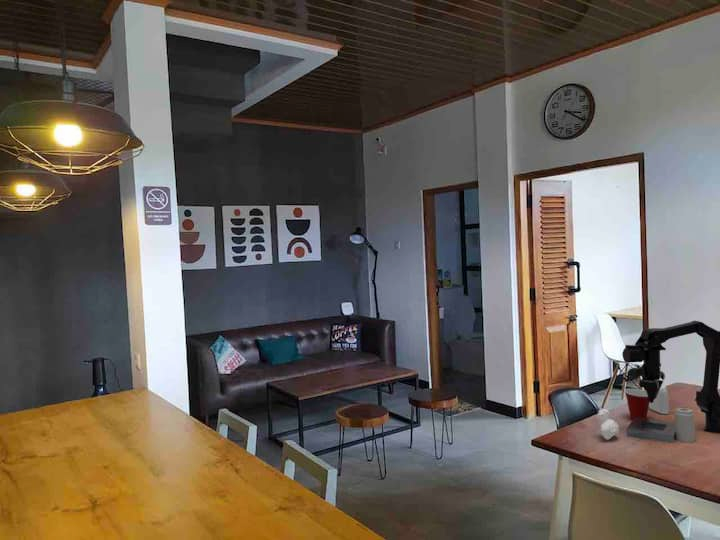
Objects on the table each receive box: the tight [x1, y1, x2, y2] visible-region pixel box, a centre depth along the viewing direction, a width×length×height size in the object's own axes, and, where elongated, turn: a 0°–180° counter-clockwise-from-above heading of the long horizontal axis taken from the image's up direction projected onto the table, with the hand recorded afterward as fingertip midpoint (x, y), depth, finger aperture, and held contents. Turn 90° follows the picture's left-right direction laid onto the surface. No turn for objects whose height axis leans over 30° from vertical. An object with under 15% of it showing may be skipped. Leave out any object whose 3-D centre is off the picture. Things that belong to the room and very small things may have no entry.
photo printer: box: [648, 384, 670, 415], centre depth 241 cm, size 10×4×12 cm, turn 4°
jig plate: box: [626, 417, 676, 444], centre depth 214 cm, size 16×16×3 cm
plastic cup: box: [624, 388, 649, 421], centre depth 232 cm, size 11×11×12 cm
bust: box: [596, 408, 620, 440], centre depth 211 cm, size 12×8×11 cm, turn 145°
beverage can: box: [674, 407, 696, 443], centre depth 206 cm, size 6×6×12 cm
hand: (652, 400), depth 214 cm, fingers open, 6 cm apart
